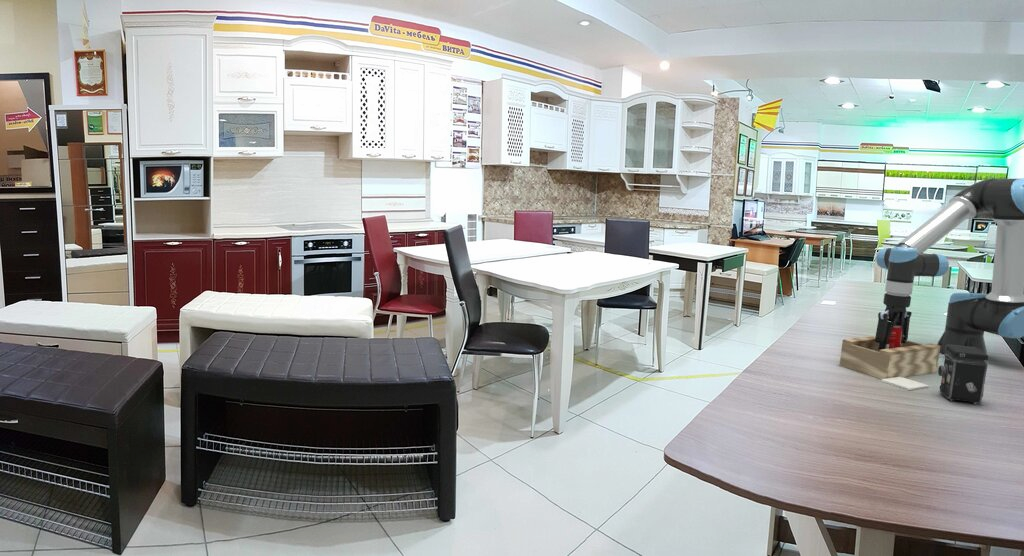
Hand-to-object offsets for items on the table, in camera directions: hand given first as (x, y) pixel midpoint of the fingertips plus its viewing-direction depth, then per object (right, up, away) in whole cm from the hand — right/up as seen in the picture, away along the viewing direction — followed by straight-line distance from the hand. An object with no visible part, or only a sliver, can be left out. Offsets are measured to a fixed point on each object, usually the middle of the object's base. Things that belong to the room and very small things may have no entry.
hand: (888, 361), depth 203 cm
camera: (+4, -7, -26) cm, 27 cm away
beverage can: (0, -3, 0) cm, 3 cm away
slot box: (0, -2, 0) cm, 2 cm away
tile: (-5, -5, -16) cm, 17 cm away
